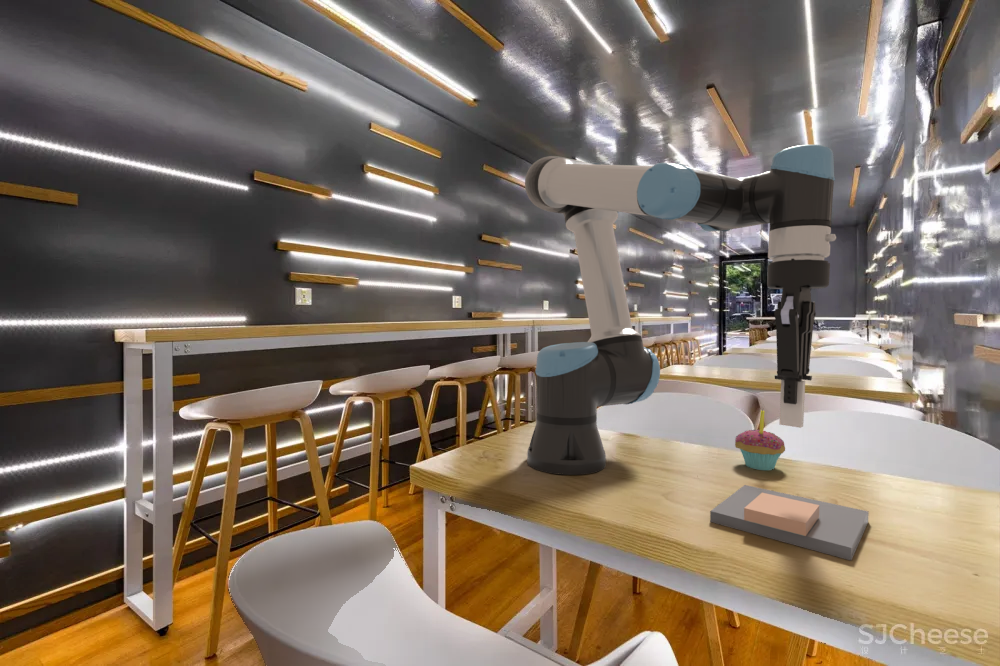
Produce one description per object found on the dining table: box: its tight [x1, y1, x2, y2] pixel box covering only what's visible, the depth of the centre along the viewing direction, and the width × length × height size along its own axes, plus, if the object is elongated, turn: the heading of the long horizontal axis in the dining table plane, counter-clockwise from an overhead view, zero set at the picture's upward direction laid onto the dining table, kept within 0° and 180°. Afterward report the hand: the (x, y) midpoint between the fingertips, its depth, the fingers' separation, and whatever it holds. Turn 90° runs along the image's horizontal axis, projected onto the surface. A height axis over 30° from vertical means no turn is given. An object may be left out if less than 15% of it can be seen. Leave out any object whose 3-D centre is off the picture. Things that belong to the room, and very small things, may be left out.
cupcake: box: [734, 406, 786, 471], centre depth 93 cm, size 9×8×12 cm
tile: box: [744, 493, 819, 536], centre depth 64 cm, size 7×2×8 cm
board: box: [709, 484, 869, 561], centre depth 67 cm, size 16×15×2 cm
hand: (791, 425), depth 70 cm, fingers closed
